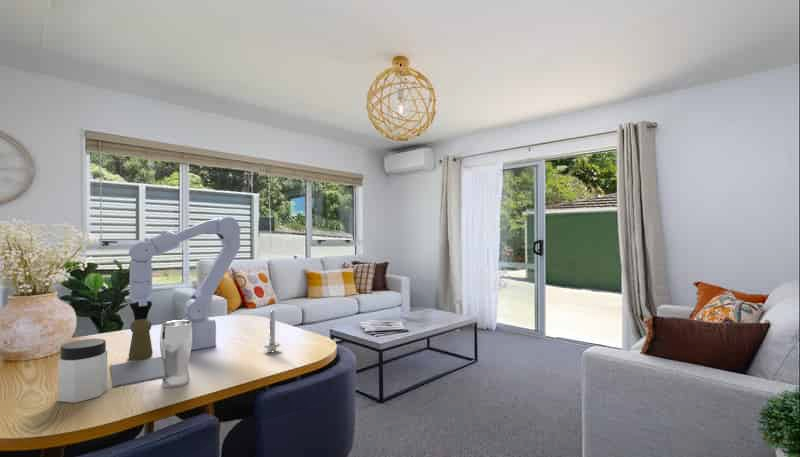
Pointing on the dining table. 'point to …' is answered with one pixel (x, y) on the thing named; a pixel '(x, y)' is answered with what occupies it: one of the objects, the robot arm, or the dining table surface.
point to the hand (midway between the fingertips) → (140, 326)
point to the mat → (136, 371)
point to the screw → (272, 335)
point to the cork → (140, 340)
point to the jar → (82, 370)
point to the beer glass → (175, 352)
